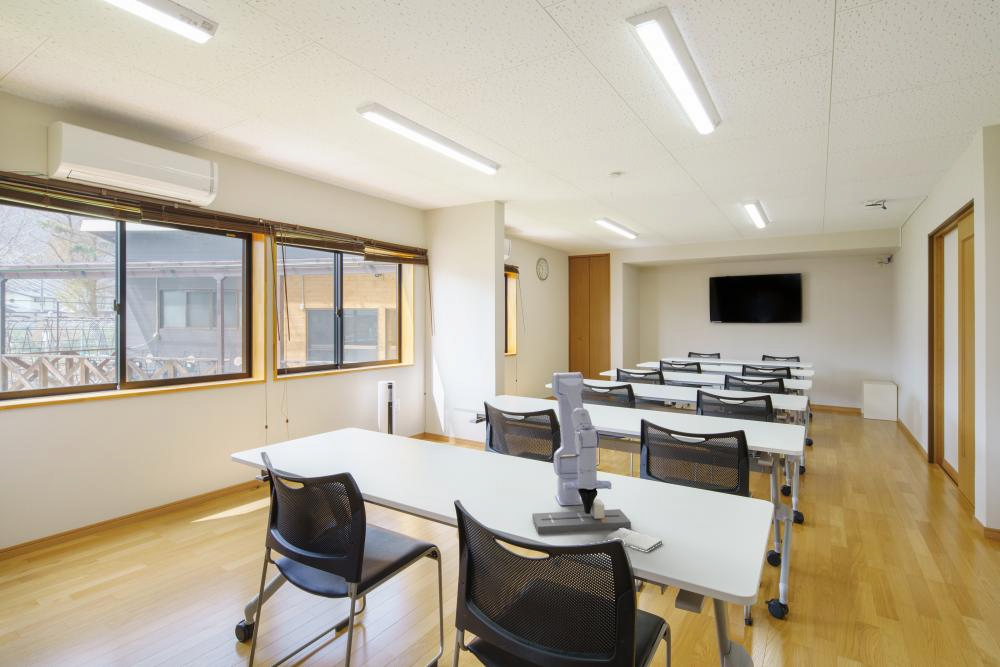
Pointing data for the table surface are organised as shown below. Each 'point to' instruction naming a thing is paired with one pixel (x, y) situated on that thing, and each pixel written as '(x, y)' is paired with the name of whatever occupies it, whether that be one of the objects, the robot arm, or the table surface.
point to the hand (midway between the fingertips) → (587, 512)
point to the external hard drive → (635, 539)
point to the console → (579, 521)
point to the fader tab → (597, 509)
